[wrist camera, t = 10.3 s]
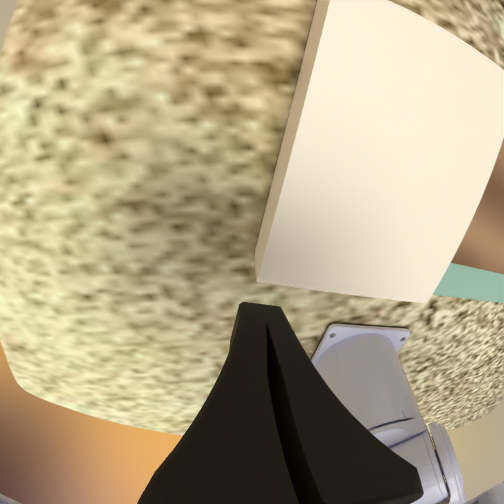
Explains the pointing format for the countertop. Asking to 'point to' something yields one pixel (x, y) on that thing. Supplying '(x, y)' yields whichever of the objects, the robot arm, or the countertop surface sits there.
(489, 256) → the walnut coaster
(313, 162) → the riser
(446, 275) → the sage mat
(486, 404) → the countertop surface
